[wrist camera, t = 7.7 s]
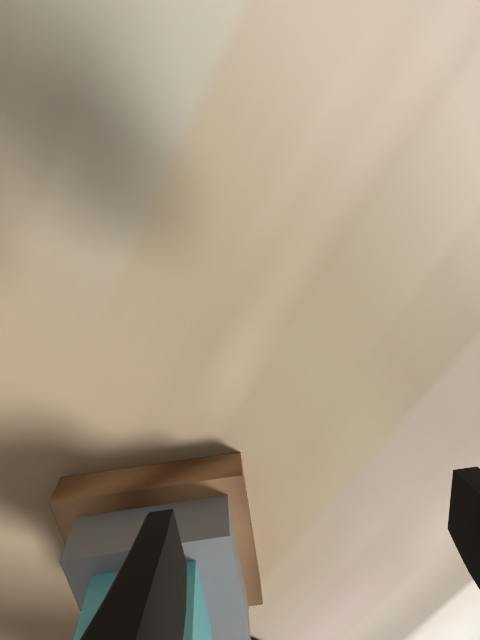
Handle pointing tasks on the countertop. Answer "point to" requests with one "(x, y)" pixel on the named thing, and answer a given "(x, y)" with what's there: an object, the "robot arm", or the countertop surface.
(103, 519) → the grey top slab
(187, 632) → the teal block
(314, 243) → the countertop surface
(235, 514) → the walnut base slab
